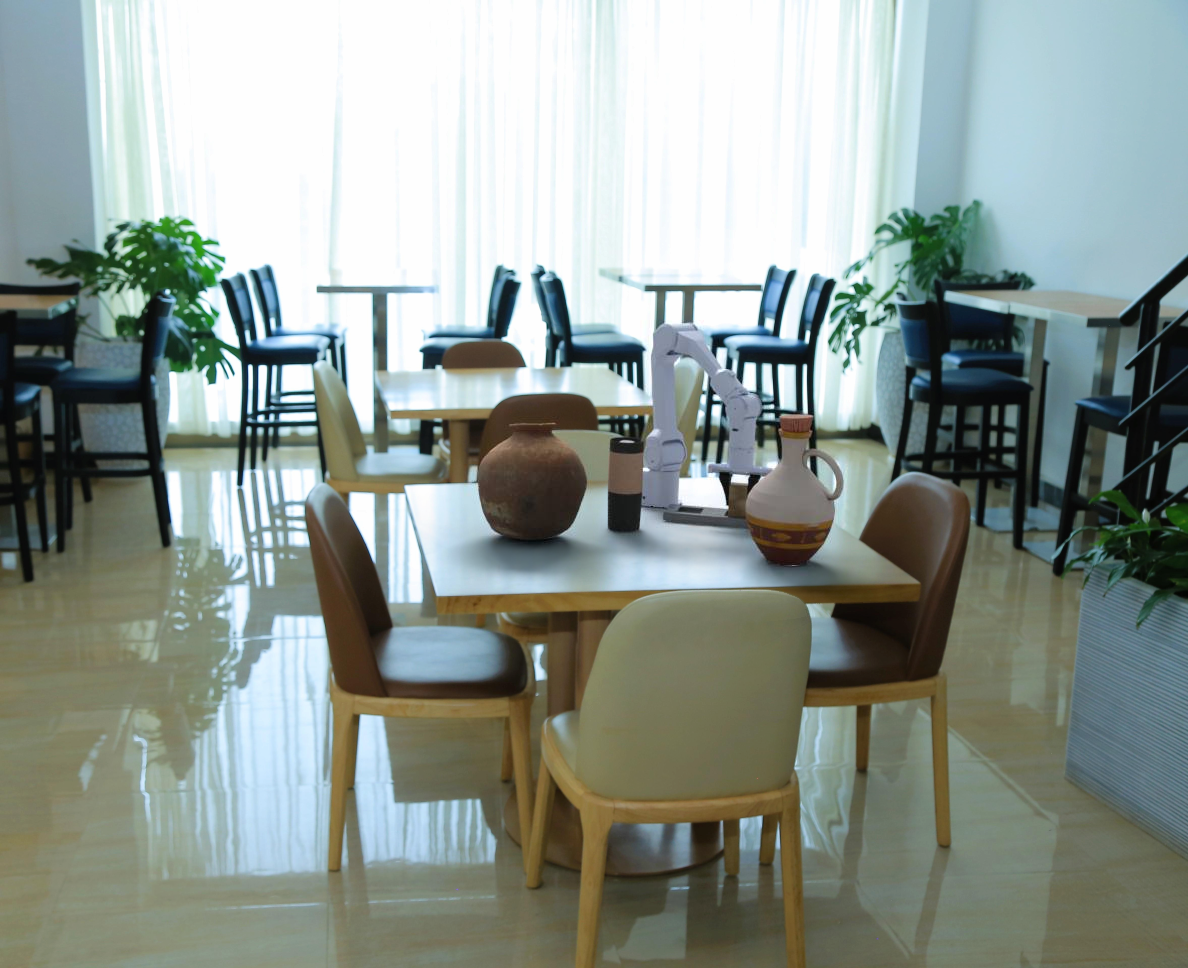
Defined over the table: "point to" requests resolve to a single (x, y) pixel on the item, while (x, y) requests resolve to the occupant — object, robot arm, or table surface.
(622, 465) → the travel mug
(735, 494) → the walnut peg
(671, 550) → the table surface
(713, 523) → the grey slotted board
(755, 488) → the jug
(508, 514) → the pottery
